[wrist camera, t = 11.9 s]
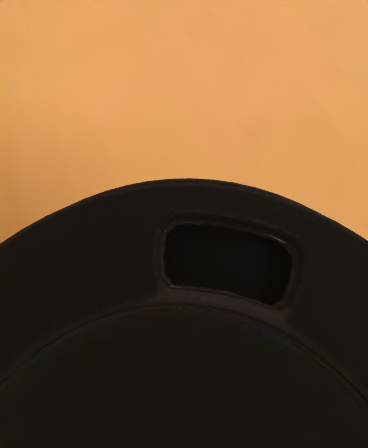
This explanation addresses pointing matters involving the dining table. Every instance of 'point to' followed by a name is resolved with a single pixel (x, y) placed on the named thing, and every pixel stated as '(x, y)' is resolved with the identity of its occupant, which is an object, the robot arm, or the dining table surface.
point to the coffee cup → (184, 323)
